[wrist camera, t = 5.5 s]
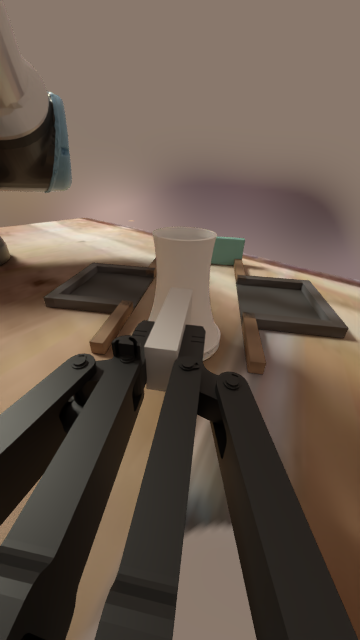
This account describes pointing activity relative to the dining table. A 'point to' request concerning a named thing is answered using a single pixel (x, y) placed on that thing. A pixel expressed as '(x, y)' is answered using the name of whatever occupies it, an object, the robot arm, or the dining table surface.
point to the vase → (187, 275)
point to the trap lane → (253, 295)
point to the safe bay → (227, 250)
